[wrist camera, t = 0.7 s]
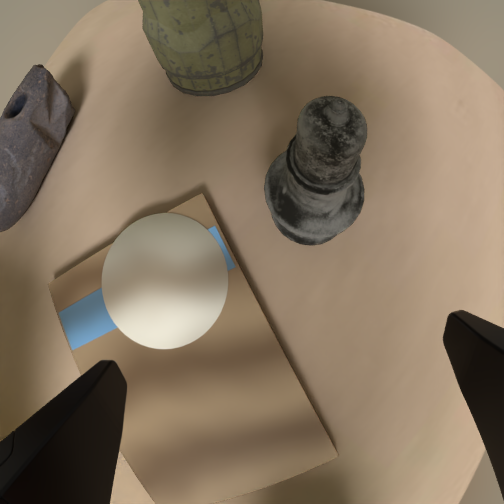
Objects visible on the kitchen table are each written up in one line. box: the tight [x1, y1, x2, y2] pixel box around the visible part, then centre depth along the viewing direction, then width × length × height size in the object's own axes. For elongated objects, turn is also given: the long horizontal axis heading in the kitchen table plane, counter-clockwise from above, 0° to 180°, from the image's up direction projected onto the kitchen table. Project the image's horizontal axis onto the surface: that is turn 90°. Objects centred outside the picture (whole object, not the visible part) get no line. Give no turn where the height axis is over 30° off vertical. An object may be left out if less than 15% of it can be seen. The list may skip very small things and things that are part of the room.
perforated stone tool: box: [0, 64, 75, 232], centre depth 21 cm, size 15×5×7 cm, turn 161°
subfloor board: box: [48, 193, 339, 504], centre depth 20 cm, size 20×14×1 cm
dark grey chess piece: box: [264, 96, 367, 245], centre depth 16 cm, size 6×6×12 cm
